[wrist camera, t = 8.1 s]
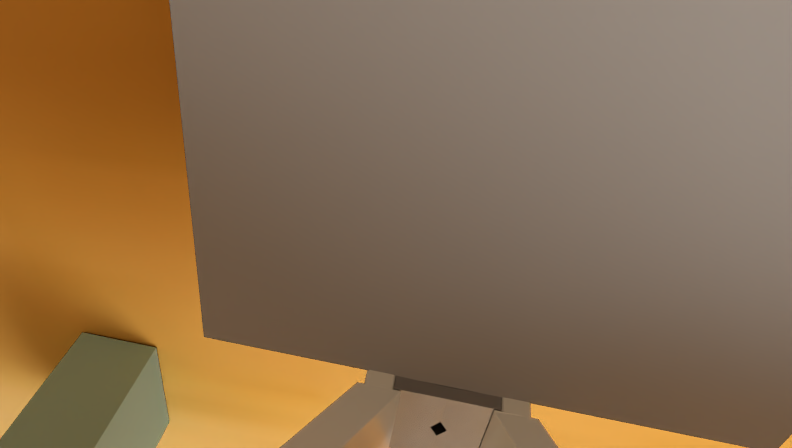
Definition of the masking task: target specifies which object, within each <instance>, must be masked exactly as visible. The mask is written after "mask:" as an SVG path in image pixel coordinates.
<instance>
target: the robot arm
mask: <svg viewBox="0 0 792 448" xmlns="http://www.w3.org/2000/svg"><path fill="white" fill-rule="evenodd" d="M280 448H558V447H557V445H556V444H555V442H554V441H553V439H552V438H551V436H550V435H549V434H548V432H547V431H546V429H545V428H544V426H543V425H542V424H541V422H540V421H539V419H535V418H531V405H530V403H529V402H525V401H520V400H515V399H510V398H504V397H503V398H502V397H498V396H493V395H488V394H483V393H478V392H473V391H468V390H463V389H458V388H453V387H448V386H443V385H438V384H433V383H429V382H424V381H419V380H414V379H409V378H405V377H400V376H395V375H392V374H388V373H383V372H378V371H373V370H367V374H366V379H365V383H358V382H357V383H356V384H355V385H353V386H352V387H351V388H350V389H349V390H348V391H346V392H345V393H344V394H343V395H342V396H340V397H339V398H338V399H337V400H336V401H335V402H333V403H332V404H331V405H330V406H329V407H327V408H326V409H325V410H324V411H323V412H321V413H320V414H319V415H318V416H317V417H316V418H314V419H313V420H312V421H311V422H310V423H308V424H307V425H306V426H305V427H304V428H303V429H301V430H300V431H299V432H298V433H297V434H295V435H294V436H293V437H292V438H291V439H290V440H288V441H287V442H286V443H285V444H284V445H282V446H281V447H280Z"/></svg>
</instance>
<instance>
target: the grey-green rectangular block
mask: <svg viewBox="0 0 792 448" xmlns="http://www.w3.org/2000/svg"><path fill="white" fill-rule="evenodd" d="M168 424H169V417H168V411H167V406H166V400H165V394H164V389H163V383H162V377H161V372H160V366H159V360H158V355H157V349H156V347H151V346H146V345H141V344H137V343H132V342H127V341H122V340H117V339H112V338H107V337H103V336H98V335H93V334H88V333H83V332H82V334H81V335H80V336H79V337H78V339H77V340H76V341H75V343H74V344H73V345H72V347H71V348H70V349H69V350H68V352H67V353H66V354H65V356H64V357H63V358H62V360H61V361H60V362H59V363H58V365H57V366H56V367H55V369H54V370H53V371H52V373H51V374H50V375H49V376H48V378H47V379H46V380H45V382H44V383H43V384H42V386H41V387H40V388H39V389H38V391H37V392H36V393H35V395H34V396H33V397H32V399H31V400H30V401H29V402H28V404H27V405H26V406H25V408H24V409H23V410H22V412H21V413H20V414H19V415H18V417H17V418H16V419H15V421H14V422H13V423H12V424H11V426H10V427H9V428H8V430H7V431H6V432H5V434H4V435H3V436H2V437H1V439H0V448H156V447H157V445H158V443H159V441H160V439H161V437H162V435H163V433H164V431H165V429H166V427H167V426H168Z"/></svg>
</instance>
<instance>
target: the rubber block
mask: <svg viewBox="0 0 792 448" xmlns="http://www.w3.org/2000/svg"><path fill="white" fill-rule="evenodd" d="M169 4H170V13H171V23H172V33H173V42H174V52H175V62H176V71H177V81H178V90H179V100H180V110H181V119H182V129H183V139H184V148H185V158H186V168H187V177H188V187H189V197H190V206H191V216H192V226H193V235H194V245H195V255H196V264H197V274H198V284H199V293H200V303H201V312H202V322H203V332H204V337H207V338H212V339H217V340H222V341H227V342H232V343H236V344H241V345H246V346H251V347H256V348H261V349H266V350H271V351H276V352H281V353H286V354H291V355H296V356H301V357H305V358H310V359H315V360H320V361H325V362H330V363H335V364H340V365H345V366H350V367H355V368H360V369H365V370H373V371H378V372H383V373H388V374H392V375H395V376H400V377H405V378H409V379H414V380H419V381H424V382H429V383H433V384H438V385H443V386H448V387H453V388H458V389H463V390H468V391H473V392H478V393H483V394H488V395H493V396H498V397H502V398H503V397H504V398H510V399H515V400H520V401H525V402H529V403H532V404H537V405H542V406H547V407H552V408H557V409H562V410H566V411H571V412H576V413H581V414H586V415H591V416H596V417H601V418H606V419H611V420H616V421H621V422H626V423H630V424H635V425H640V426H645V427H650V428H655V429H660V430H665V431H670V432H675V433H680V434H685V435H690V436H694V437H699V438H704V439H709V440H714V441H719V442H724V443H729V444H734V445H739V446H744V447H749V448H779V447H780V446H781V445H782V444H783V443H784V442H785V441H786V440H787V439H788V438H789V436H790V435H791V434H792V0H169Z"/></svg>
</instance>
